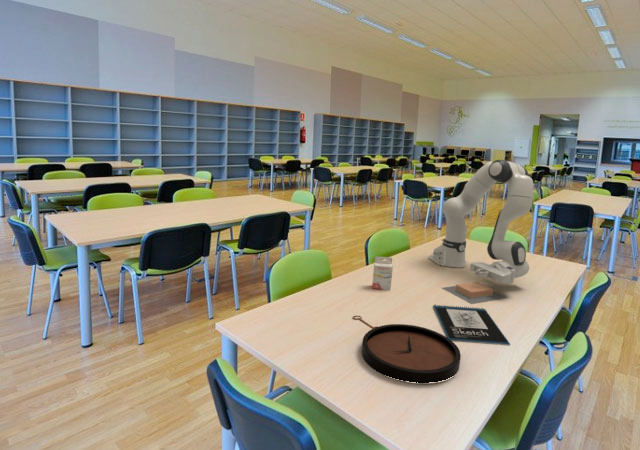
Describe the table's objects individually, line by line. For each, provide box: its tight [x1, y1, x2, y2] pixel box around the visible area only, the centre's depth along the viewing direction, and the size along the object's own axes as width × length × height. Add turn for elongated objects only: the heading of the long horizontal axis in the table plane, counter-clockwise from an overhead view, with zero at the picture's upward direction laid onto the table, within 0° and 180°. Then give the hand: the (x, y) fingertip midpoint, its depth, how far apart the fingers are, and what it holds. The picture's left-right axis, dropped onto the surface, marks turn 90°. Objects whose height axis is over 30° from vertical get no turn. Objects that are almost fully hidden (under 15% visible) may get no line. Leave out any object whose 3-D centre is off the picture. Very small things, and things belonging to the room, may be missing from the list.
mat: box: [441, 285, 509, 305], centre depth 193 cm, size 20×22×1 cm
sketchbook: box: [432, 304, 511, 346], centre depth 161 cm, size 22×30×2 cm
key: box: [352, 315, 378, 330], centre depth 158 cm, size 6×1×15 cm
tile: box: [455, 281, 494, 298], centre depth 192 cm, size 10×3×13 cm
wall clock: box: [361, 323, 462, 383], centre depth 136 cm, size 31×4×31 cm
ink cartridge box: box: [371, 255, 394, 291], centre depth 194 cm, size 9×5×15 cm, turn 84°
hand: (477, 273), depth 191 cm, fingers closed
